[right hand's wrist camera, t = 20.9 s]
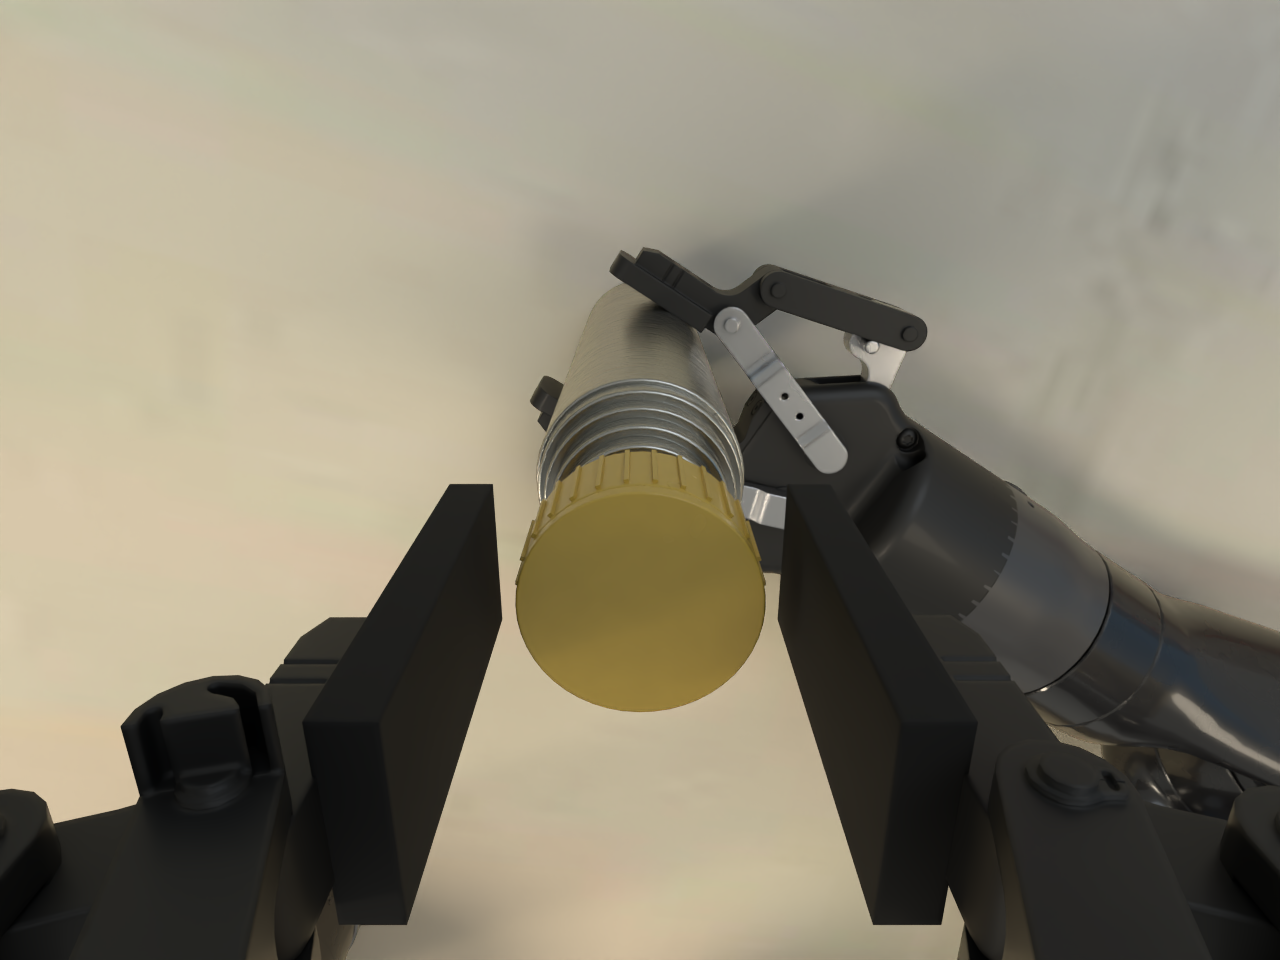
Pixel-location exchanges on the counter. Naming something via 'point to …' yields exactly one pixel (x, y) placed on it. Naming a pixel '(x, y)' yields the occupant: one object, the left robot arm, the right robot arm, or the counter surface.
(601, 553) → the cap
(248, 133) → the counter surface
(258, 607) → the counter surface
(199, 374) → the counter surface
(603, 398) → the bottle
